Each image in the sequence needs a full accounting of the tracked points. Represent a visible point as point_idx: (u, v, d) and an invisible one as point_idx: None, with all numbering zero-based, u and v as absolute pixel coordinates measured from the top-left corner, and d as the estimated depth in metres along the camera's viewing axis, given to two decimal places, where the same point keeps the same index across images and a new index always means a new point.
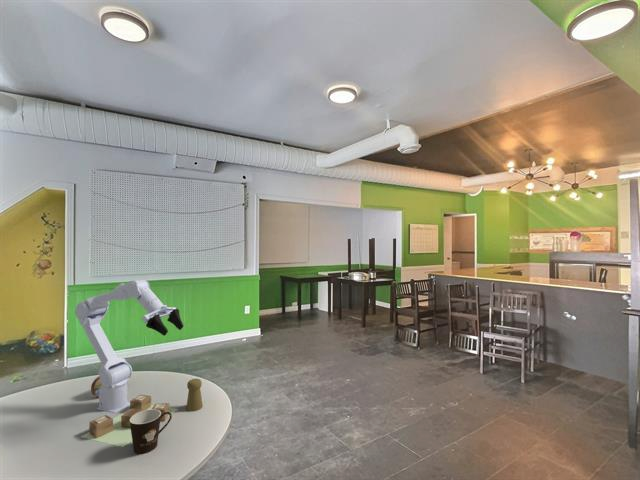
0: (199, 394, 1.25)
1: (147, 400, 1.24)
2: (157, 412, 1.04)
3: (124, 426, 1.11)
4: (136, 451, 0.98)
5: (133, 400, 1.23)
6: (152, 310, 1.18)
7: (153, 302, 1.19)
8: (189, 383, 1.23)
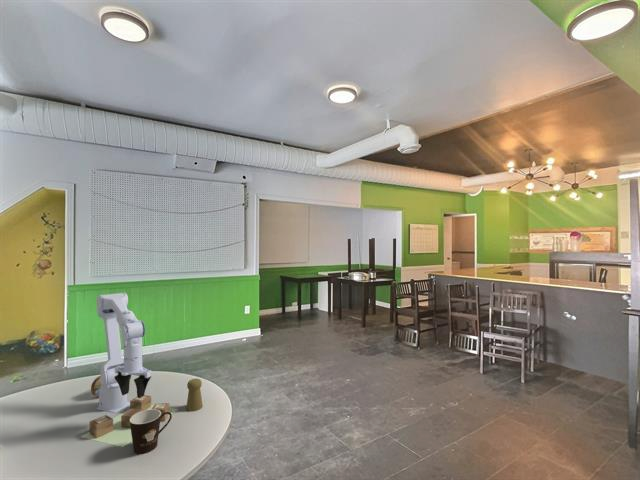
0: (199, 394, 1.25)
1: (147, 400, 1.24)
2: (157, 412, 1.04)
3: (124, 426, 1.11)
4: (136, 451, 0.98)
5: (133, 400, 1.23)
6: None
7: (123, 361, 1.12)
8: (189, 383, 1.23)
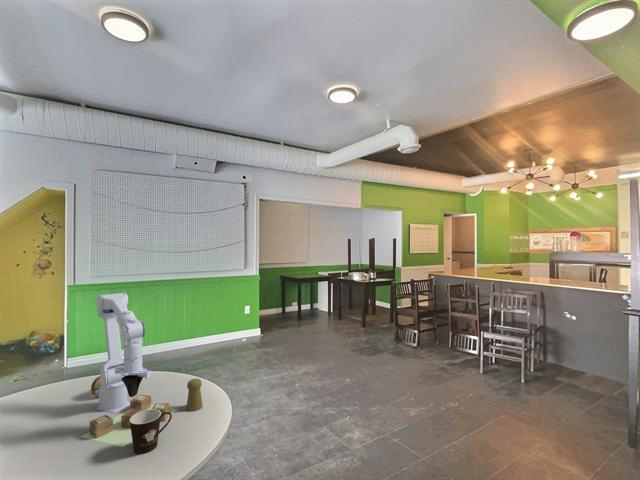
0: (199, 394, 1.25)
1: (147, 400, 1.24)
2: (157, 412, 1.04)
3: (124, 426, 1.11)
4: (136, 451, 0.98)
5: (133, 400, 1.23)
6: None
7: (123, 361, 1.12)
8: (189, 383, 1.23)
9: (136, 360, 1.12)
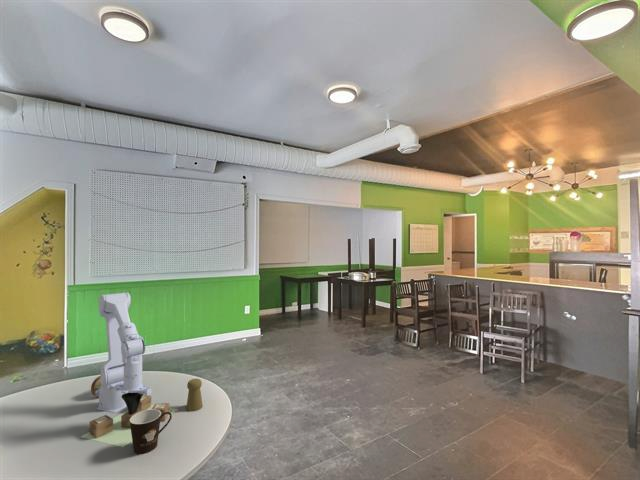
0: (199, 394, 1.25)
1: (147, 400, 1.24)
2: (157, 412, 1.04)
3: (124, 426, 1.11)
4: (136, 451, 0.98)
5: None
6: None
7: (123, 378, 1.12)
8: (189, 383, 1.23)
9: (136, 377, 1.12)
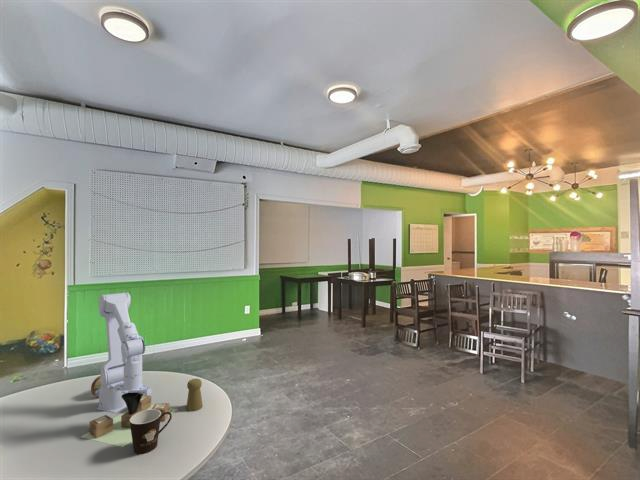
0: (199, 394, 1.25)
1: (147, 400, 1.24)
2: (157, 412, 1.04)
3: (124, 426, 1.11)
4: (136, 451, 0.98)
5: None
6: None
7: (123, 378, 1.12)
8: (189, 383, 1.23)
9: (136, 377, 1.12)
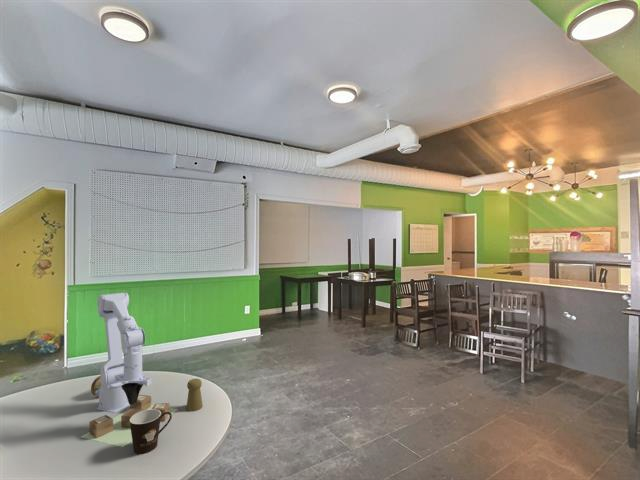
0: (199, 394, 1.25)
1: (147, 400, 1.24)
2: (157, 412, 1.04)
3: (124, 426, 1.11)
4: (136, 451, 0.98)
5: None
6: None
7: (123, 369, 1.12)
8: (189, 383, 1.23)
9: (136, 368, 1.12)
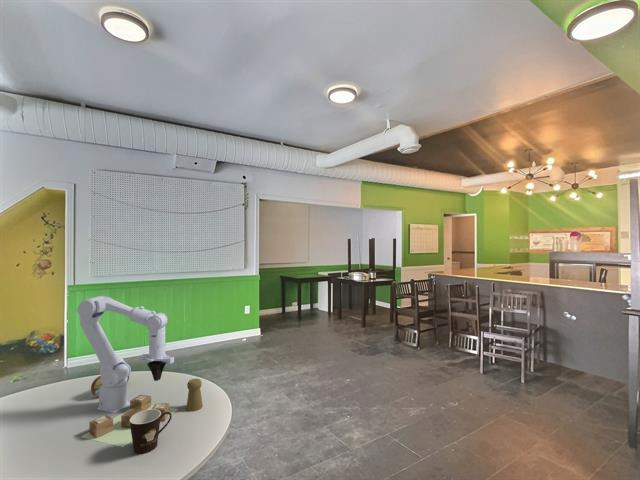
0: (199, 394, 1.25)
1: (147, 400, 1.24)
2: (157, 412, 1.04)
3: (124, 426, 1.11)
4: (136, 451, 0.98)
5: (133, 400, 1.23)
6: None
7: (149, 348, 1.25)
8: (189, 383, 1.23)
9: (160, 347, 1.25)
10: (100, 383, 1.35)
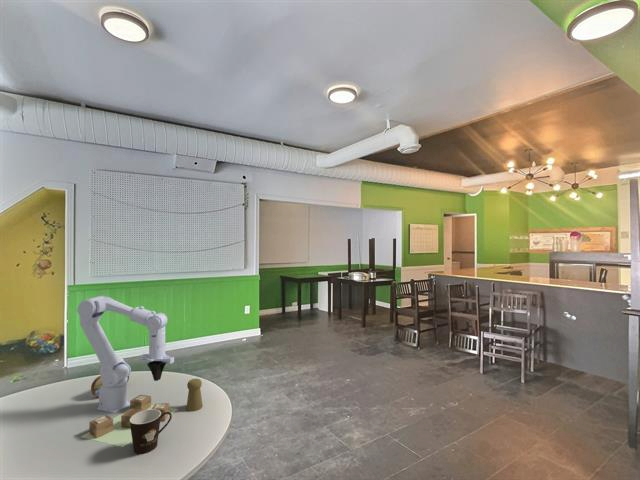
0: (199, 394, 1.25)
1: (147, 400, 1.24)
2: (157, 412, 1.04)
3: (124, 426, 1.11)
4: (136, 451, 0.98)
5: (133, 400, 1.23)
6: None
7: (149, 348, 1.25)
8: (189, 383, 1.23)
9: (160, 347, 1.25)
10: (100, 383, 1.35)
